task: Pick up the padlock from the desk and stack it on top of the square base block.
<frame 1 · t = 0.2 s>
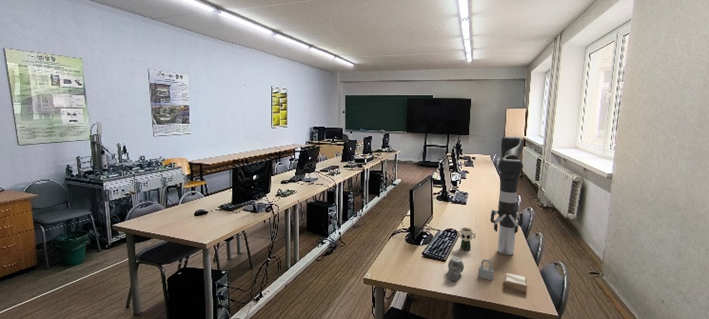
hand: (505, 231, 162), 28 cm above the table, fingers open, 8 cm apart
pipe fitting: (453, 277, 174), on the table
padlock: (485, 277, 173), on the table
character mug: (465, 249, 209), on the table
base: (515, 286, 164), on the table
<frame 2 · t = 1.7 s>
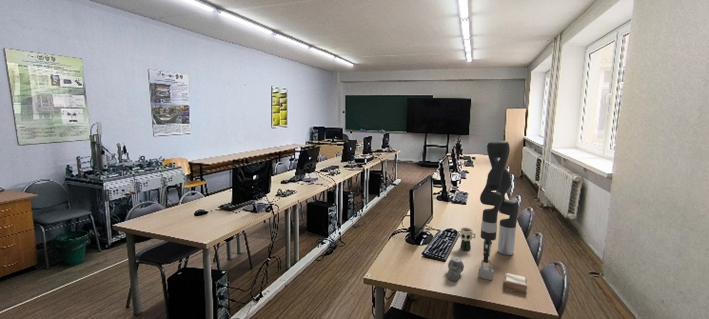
hand: (486, 259, 171), 10 cm above the table, fingers open, 8 cm apart
nothing on the table moved.
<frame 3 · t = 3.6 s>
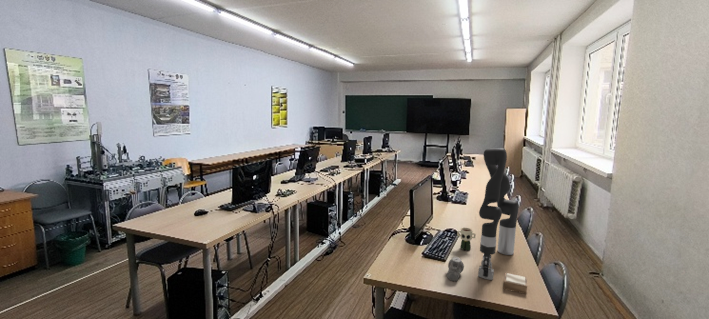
hand: (485, 274, 173), 2 cm above the table, fingers closed on padlock, 4 cm apart
padlock: (485, 277, 173), on the table, touching gripper
everything else where it was.
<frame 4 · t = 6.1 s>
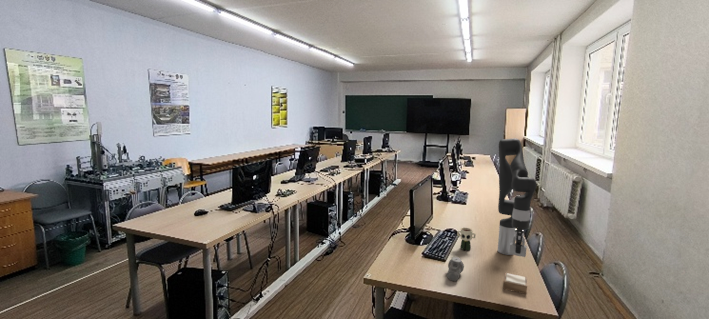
hand: (517, 251, 162), 19 cm above the table, fingers closed on padlock, 4 cm apart
padlock: (517, 255, 162), point 17 cm above the table, touching gripper
everything else where it was.
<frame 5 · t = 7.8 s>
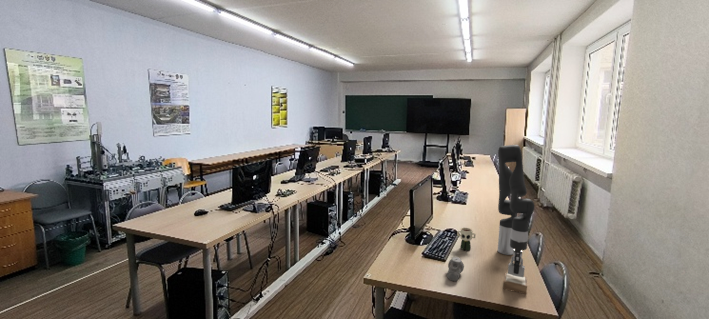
hand: (516, 271, 163), 8 cm above the table, fingers closed on padlock, 4 cm apart
padlock: (515, 275, 163), point 6 cm above the table, touching gripper
everything else where it was.
when the fingers open (7 cm above the table, at t = 9.0 s): padlock stays where it is, resting on base.
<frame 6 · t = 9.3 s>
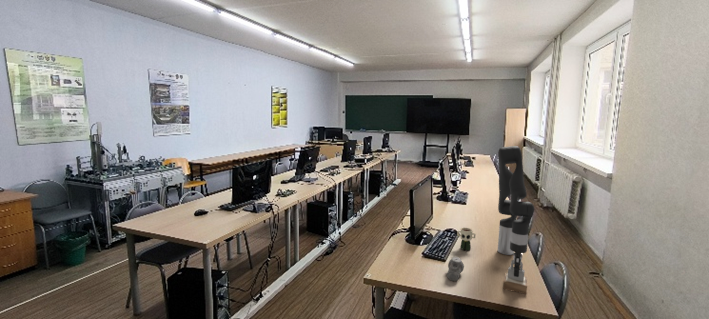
hand: (516, 272, 163), 7 cm above the table, fingers open, 7 cm apart
padlock: (515, 278, 164), point 4 cm above the table, touching base
everything else where it was.
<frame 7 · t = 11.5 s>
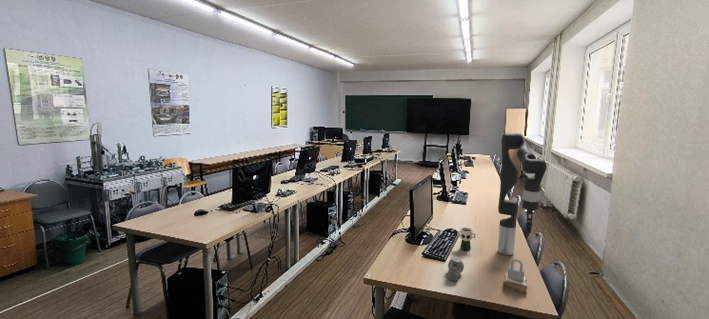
hand: (528, 230, 165), 28 cm above the table, fingers open, 8 cm apart
nothing on the table moved.
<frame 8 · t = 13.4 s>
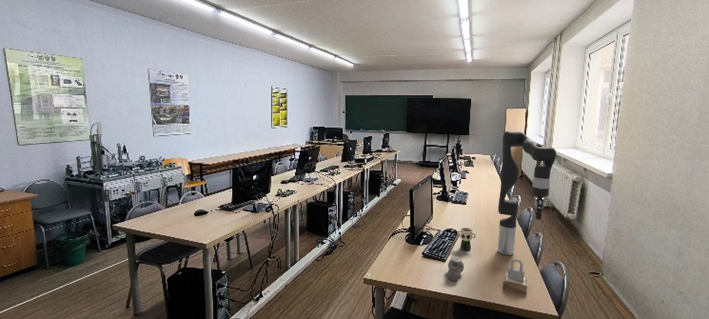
hand: (537, 216, 169), 33 cm above the table, fingers open, 8 cm apart
nothing on the table moved.
at the end: padlock inside the target area on the base (0.2 cm from its centre), point 4.1 cm above the base's base; the gripper is holding nothing; padlock touching base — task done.
